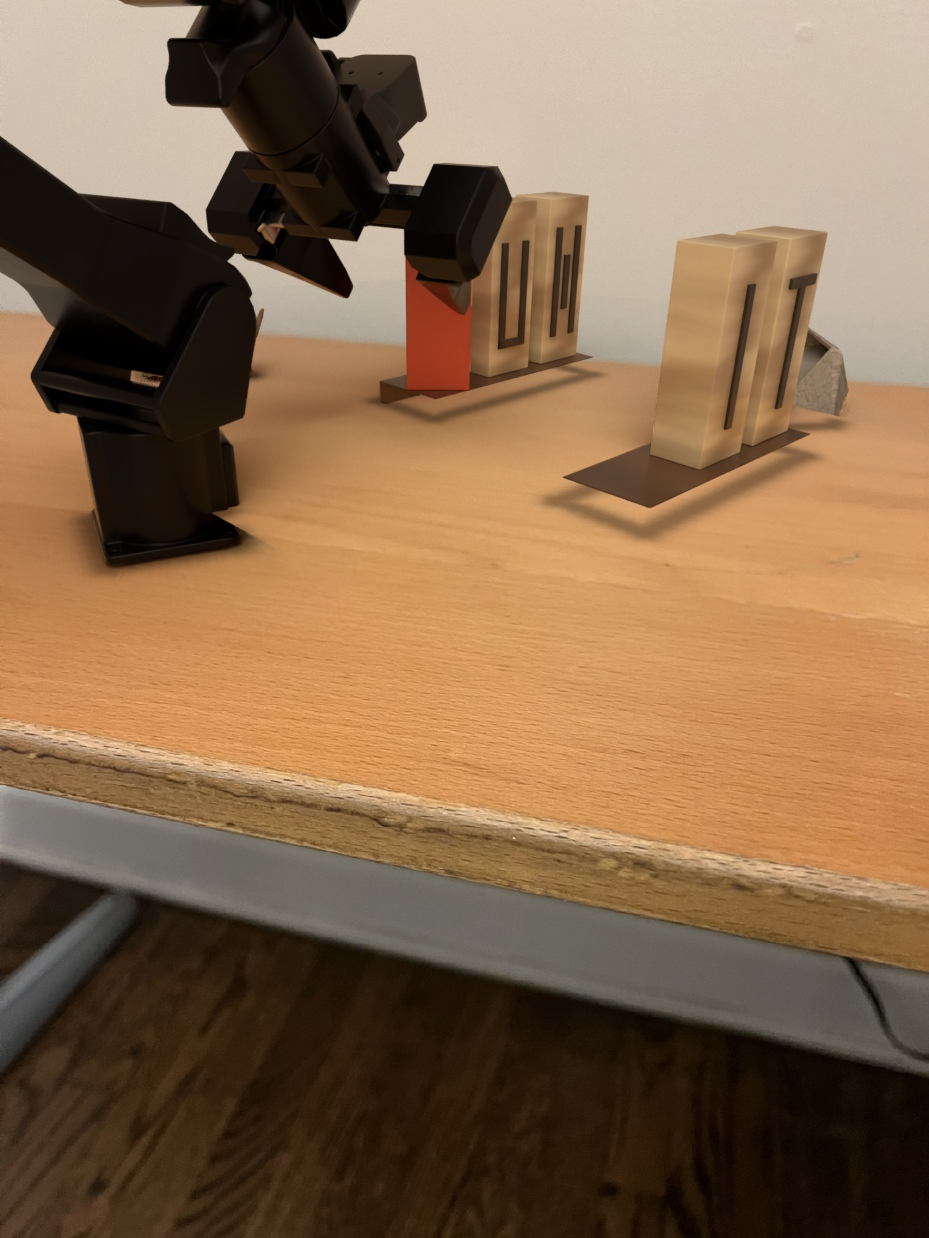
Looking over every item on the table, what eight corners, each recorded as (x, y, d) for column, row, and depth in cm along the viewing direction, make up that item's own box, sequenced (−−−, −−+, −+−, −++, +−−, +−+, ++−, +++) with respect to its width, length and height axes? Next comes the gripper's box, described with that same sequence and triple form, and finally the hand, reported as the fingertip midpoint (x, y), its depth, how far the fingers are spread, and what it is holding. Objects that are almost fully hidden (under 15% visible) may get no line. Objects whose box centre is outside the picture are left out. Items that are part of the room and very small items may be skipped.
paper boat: (868, 426, 61) (740, 383, 61) (818, 479, 67) (701, 440, 67) (878, 301, 67) (760, 260, 66) (831, 360, 72) (722, 322, 72)
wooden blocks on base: (435, 419, 65) (436, 211, 58) (379, 400, 68) (374, 203, 61) (592, 374, 76) (608, 196, 69) (537, 360, 79) (547, 190, 73)
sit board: (646, 534, 48) (682, 264, 42) (559, 501, 52) (579, 248, 45) (806, 455, 60) (855, 233, 53) (725, 433, 63) (761, 222, 56)
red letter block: (470, 390, 66) (475, 209, 60) (406, 390, 65) (404, 207, 59) (466, 373, 70) (470, 201, 64) (406, 373, 69) (404, 200, 63)
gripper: (505, -15, 45) (575, 211, 59) (216, -7, 53) (338, 192, 66) (420, 170, 43) (513, 360, 57) (133, 150, 50) (277, 322, 64)
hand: (405, 300), depth 61 cm, fingers open, 9 cm apart
